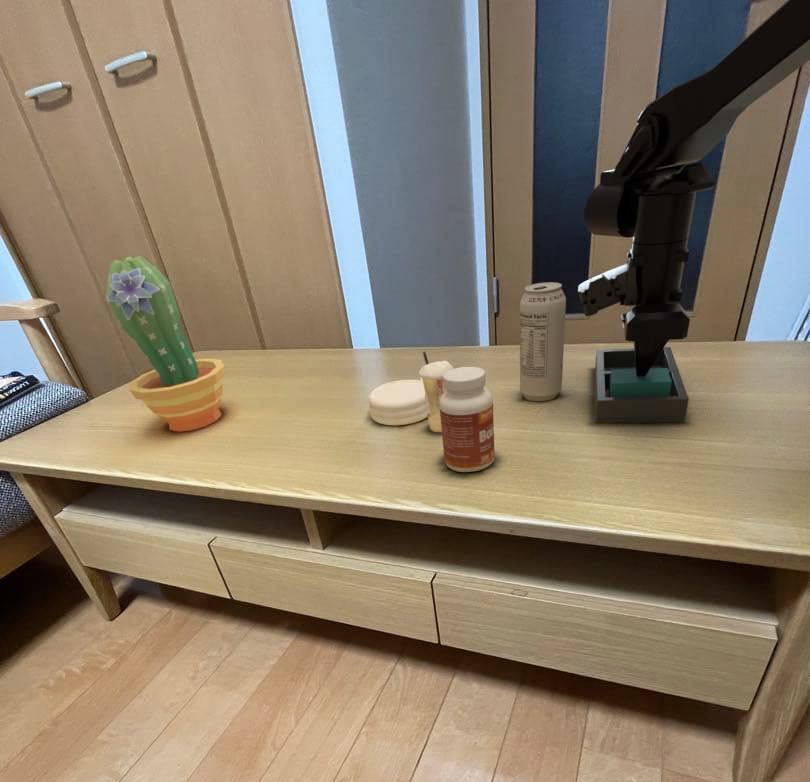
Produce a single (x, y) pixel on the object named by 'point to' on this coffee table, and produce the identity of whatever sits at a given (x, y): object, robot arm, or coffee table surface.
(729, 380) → the coffee table surface
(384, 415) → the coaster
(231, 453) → the coffee table surface
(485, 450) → the pill bottle
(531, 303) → the energy drink can
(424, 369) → the milkshake
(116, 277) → the potted cactus
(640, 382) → the green rectangular block
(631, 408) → the pad holder
